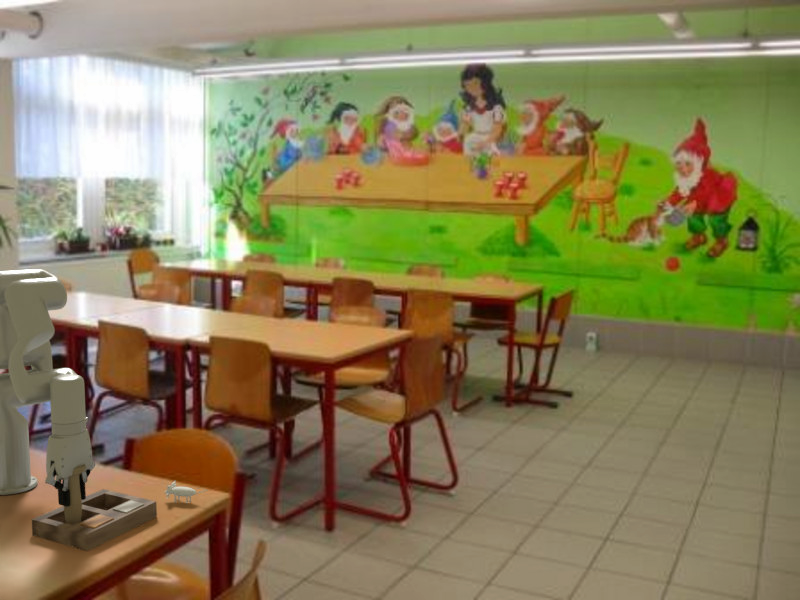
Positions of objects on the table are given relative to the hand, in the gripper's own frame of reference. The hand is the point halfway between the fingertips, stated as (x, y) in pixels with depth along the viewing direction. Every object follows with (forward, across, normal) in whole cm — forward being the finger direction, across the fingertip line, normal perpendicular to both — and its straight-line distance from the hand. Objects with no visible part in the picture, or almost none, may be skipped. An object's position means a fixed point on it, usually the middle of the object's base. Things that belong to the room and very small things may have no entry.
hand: (72, 501), depth 195 cm
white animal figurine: (+8, -27, +11) cm, 30 cm away
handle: (+6, 0, 0) cm, 6 cm away
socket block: (+8, -5, +2) cm, 9 cm away
